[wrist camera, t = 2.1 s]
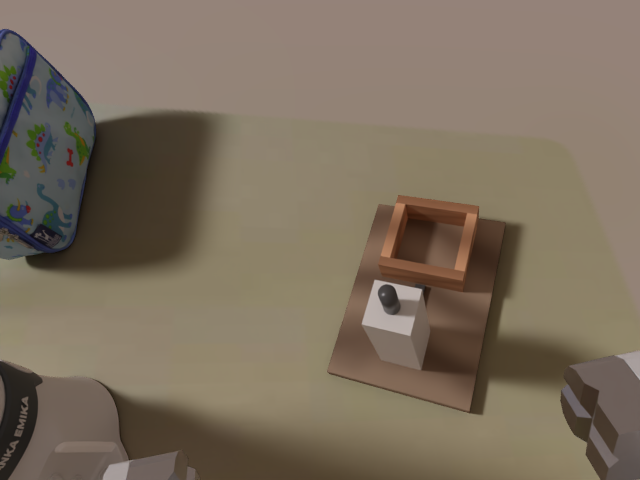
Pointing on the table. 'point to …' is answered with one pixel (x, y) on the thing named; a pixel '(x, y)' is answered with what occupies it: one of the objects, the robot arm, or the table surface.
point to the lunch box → (39, 152)
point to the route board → (426, 297)
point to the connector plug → (397, 323)
